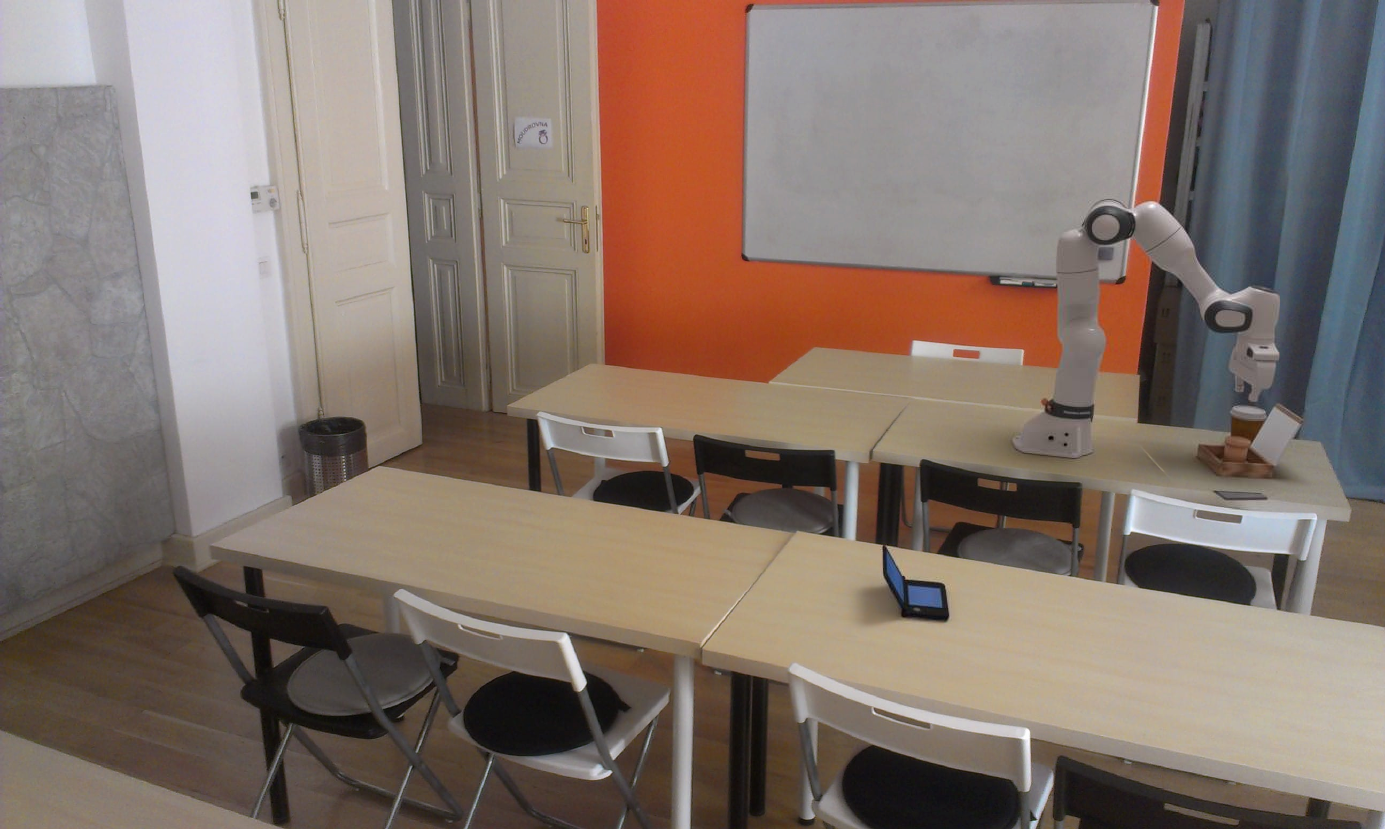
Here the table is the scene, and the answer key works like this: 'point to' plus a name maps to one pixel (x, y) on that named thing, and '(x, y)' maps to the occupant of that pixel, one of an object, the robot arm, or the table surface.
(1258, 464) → the tray
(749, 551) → the table surface
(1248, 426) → the disposable coffee cup
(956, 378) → the table surface
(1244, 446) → the tan cylinder
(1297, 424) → the lid
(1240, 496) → the coaster
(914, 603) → the handheld game console
